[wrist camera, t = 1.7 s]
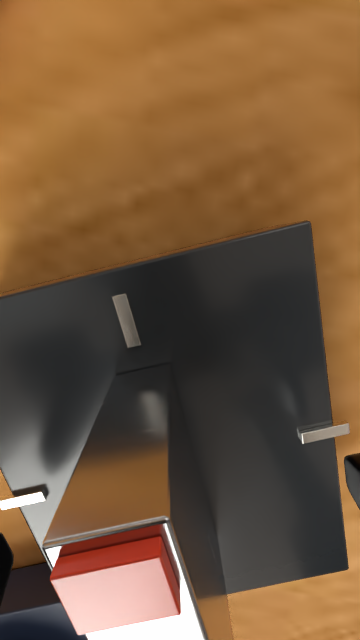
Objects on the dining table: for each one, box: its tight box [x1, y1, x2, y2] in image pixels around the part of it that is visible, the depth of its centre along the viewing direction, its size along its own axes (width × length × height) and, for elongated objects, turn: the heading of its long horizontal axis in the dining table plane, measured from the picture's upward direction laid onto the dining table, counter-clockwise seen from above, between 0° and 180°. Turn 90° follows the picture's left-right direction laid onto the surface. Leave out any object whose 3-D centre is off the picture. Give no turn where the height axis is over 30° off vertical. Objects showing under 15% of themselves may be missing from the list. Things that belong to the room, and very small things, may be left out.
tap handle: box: [42, 364, 234, 640], centre depth 6 cm, size 6×2×5 cm, turn 13°
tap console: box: [0, 221, 350, 594], centre depth 10 cm, size 12×11×3 cm
